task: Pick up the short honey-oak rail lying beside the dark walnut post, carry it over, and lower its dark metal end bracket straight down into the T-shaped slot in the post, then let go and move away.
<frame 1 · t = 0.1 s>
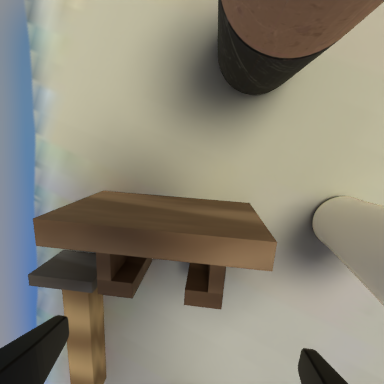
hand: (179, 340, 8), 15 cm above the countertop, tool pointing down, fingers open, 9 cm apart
walnut post: (172, 239, 23), on the countertop
oak rail: (93, 322, 26), on the countertop
white cylinder: (335, 219, 21), on the countertop
travel mug: (257, 53, 18), on the countertop
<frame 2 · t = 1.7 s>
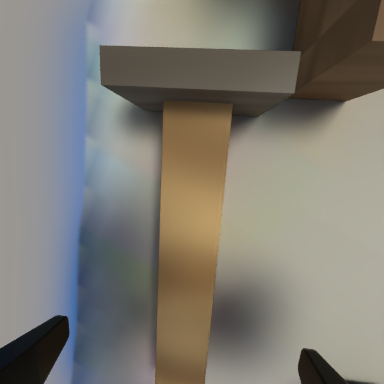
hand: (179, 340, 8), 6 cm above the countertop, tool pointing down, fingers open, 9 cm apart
oak rail: (191, 254, 14), on the countertop
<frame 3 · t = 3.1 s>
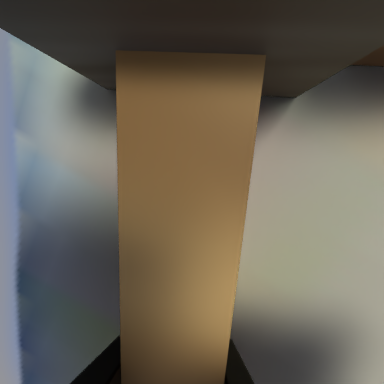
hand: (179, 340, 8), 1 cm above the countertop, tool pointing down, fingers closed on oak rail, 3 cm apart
oak rail: (183, 313, 9), on the countertop, touching gripper
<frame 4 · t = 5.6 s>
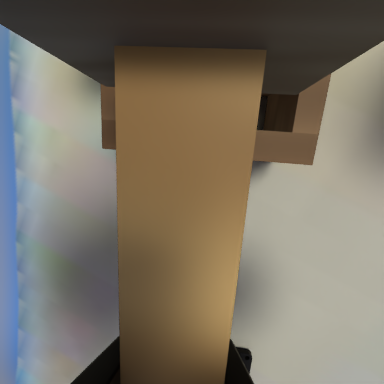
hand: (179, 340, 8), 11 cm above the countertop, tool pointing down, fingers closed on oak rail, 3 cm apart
walnut post: (209, 114, 16), on the countertop
oak rail: (183, 313, 9), point 9 cm above the countertop, touching gripper
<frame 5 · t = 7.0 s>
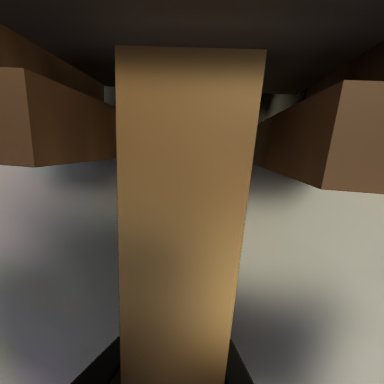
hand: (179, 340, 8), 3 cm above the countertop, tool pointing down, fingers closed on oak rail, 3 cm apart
walnut post: (201, 85, 8), on the countertop
oak rail: (183, 312, 9), point 2 cm above the countertop, touching gripper
when the fingers open (2 cm above the countertop, at t = 8.1 s): oak rail drops 1 cm, on the countertop.
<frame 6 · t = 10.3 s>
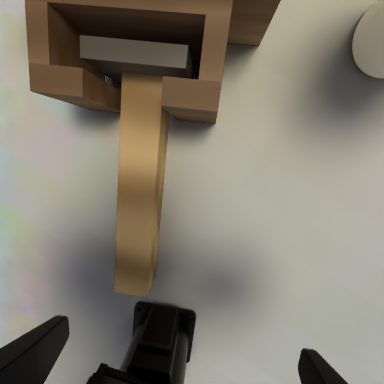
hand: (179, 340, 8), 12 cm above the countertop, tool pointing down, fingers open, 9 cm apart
walnut post: (154, 78, 17), on the countertop
oak rail: (147, 190, 19), on the countertop
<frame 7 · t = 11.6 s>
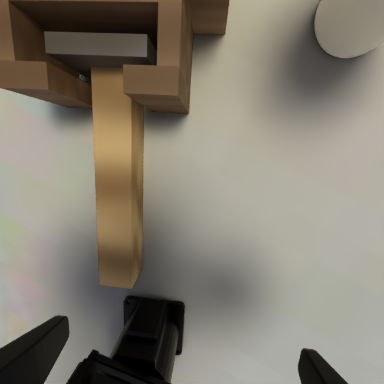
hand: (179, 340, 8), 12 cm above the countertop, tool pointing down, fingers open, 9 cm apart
walnut post: (126, 72, 17), on the countertop
oak rail: (128, 184, 19), on the countertop
white cylinder: (346, 23, 15), on the countertop
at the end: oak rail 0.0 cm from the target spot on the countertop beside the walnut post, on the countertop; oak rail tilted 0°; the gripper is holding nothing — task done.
